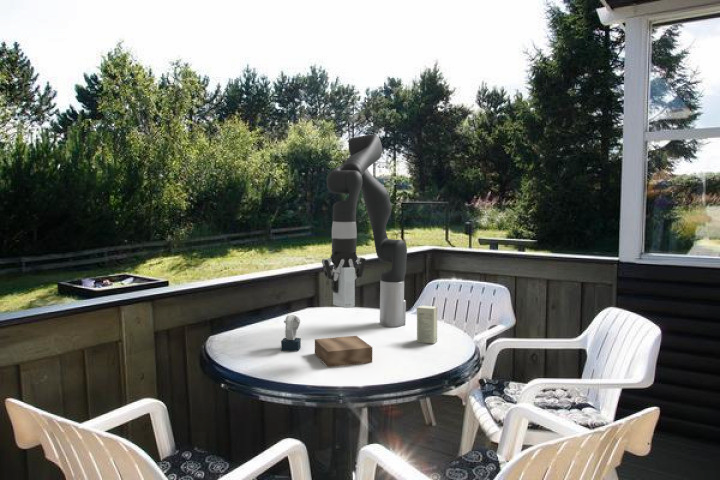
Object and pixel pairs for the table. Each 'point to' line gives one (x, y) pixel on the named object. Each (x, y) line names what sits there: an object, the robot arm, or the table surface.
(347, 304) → the skincare box
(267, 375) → the table surface
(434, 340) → the skincare box
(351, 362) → the walnut block
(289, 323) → the white bust on pedestal
